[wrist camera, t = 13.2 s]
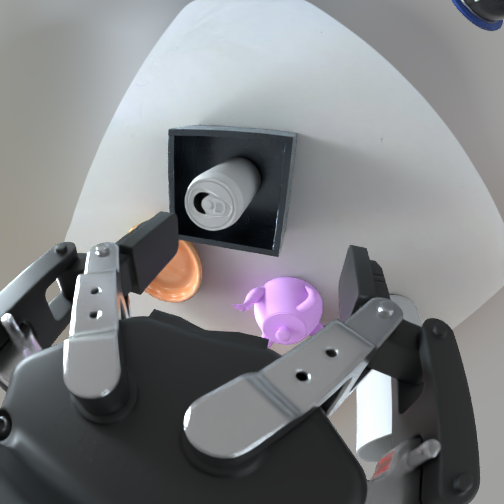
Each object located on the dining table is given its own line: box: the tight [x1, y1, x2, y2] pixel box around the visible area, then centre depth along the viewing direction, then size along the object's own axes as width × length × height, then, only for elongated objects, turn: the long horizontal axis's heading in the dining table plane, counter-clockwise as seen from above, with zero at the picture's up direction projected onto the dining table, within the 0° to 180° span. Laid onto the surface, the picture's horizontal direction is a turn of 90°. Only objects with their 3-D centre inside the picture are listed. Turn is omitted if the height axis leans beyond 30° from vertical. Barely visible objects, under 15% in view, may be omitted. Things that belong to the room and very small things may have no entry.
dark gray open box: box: [168, 125, 298, 257], centre depth 35 cm, size 15×15×8 cm
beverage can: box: [185, 157, 261, 231], centre depth 32 cm, size 6×6×12 cm
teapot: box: [233, 277, 324, 348], centre depth 43 cm, size 12×14×9 cm
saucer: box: [128, 224, 202, 303], centre depth 47 cm, size 16×16×3 cm
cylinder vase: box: [356, 295, 422, 463], centre depth 34 cm, size 12×12×25 cm
